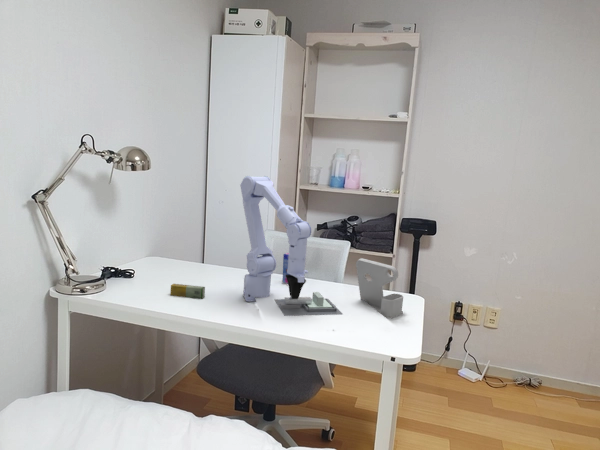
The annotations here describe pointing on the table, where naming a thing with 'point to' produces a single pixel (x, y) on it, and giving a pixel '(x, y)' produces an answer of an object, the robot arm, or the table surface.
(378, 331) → the table surface
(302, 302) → the brushed metal bar
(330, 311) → the panel
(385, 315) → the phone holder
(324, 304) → the cover
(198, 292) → the medication box
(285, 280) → the ink cartridge box
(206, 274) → the table surface
